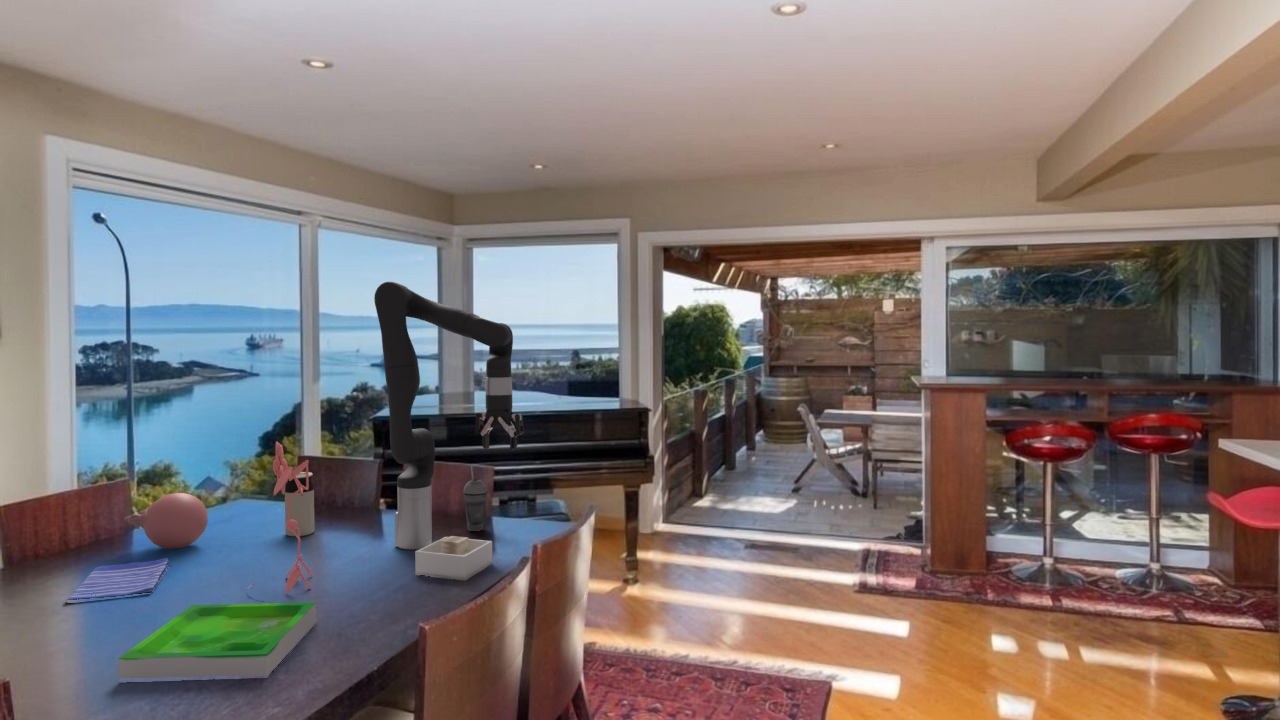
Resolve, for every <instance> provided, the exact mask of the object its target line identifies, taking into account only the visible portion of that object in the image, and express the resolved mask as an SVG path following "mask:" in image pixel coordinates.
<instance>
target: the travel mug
mask: <svg viewBox="0 0 1280 720" xmlns="http://www.w3.org/2000/svg"><path fill="white" fill-rule="evenodd" d="M313 475H314V474H313V473H312V472H310V471H308V480H309V488H308V490H306V489H304V490H303V496H301V494H300V492H298V493H296V494H295V495H294V496H292V497H291V498H289V508H290V519H294V520H296V521H297V523H298V527H297V528H299V529H300V537H306V536H309V535H312V534H313V533H314V532H315V488H314V487H315V486H314V482H313V480H312V478H313ZM289 478H290V477H289ZM296 478H297V479H298V480H299V482H300V483H301V485H303V486H305V487H306V471H301V472H300V473H299V474H298V475H297V476H296ZM297 490H299V489H298V487H297V485H296V482H295V480H294V478H293V479H292V480H291V481H289V479H288V481H287V482H286V484H285V493H284V511H285V512H284V515H285V516H284V522H285V523H284V524H285V525H284V527H285V528H284V530H285V533H284V534H285V535H286V536H288V537H293V538H295V537H296V536H295V535H294V534H293V532H292V531H289V530H287V528H286V523H287V521H288V520H289V518H288V510H287V502H286V499H287V497H288V496H290V495H291V494H293V493H294V492H296V491H297ZM293 531H294V532H295V534H296V535H297V536H298V529H295V530H293ZM296 538H297V537H296Z"/></svg>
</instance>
